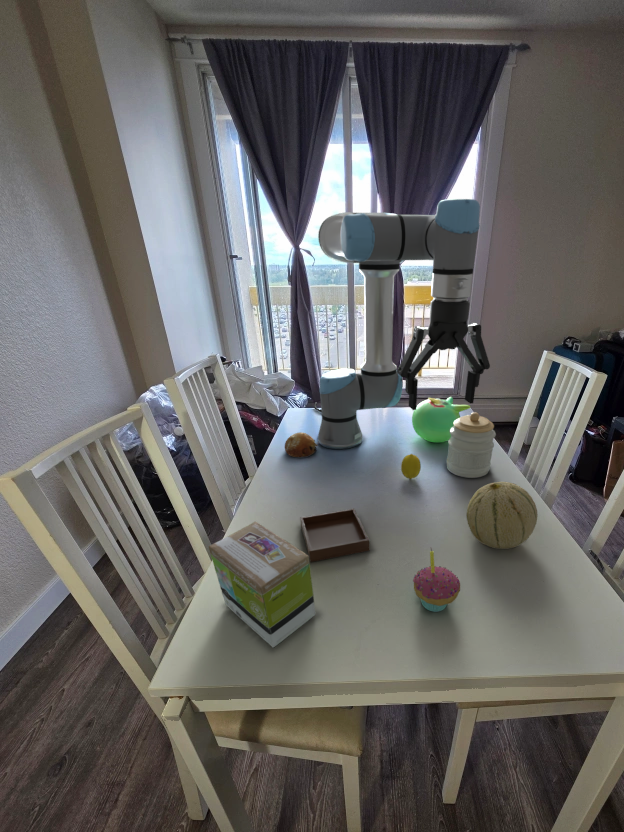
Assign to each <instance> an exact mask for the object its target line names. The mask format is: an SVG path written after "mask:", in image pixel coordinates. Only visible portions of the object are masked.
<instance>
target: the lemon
mask: <svg viewBox="0 0 624 832" xmlns="http://www.w3.org/2000/svg"><path fill="white" fill-rule="evenodd" d="M421 468H422V465H421V460H420V458H419V457H418V456H417V455H415V454H413V453H410V454H407V455H405V456H404V457H403V459H402V461H401V464H400V470H401V474H402V476H404V477H405V478H407V479H409V480H412V479H415V478H417V477H418V476H419V475H420V472H421Z"/></svg>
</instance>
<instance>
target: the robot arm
mask: <svg viewBox="0 0 624 832" xmlns="http://www.w3.org/2000/svg"><path fill="white" fill-rule="evenodd" d="M480 205H481V204H480V203H479V201H478V200H476V199H473V198H447V199H442V200H440V201H439V202H438V203H437V206H436V213H435V214H396V213H390V212H385V211H383V212H352V211H351V212H349V211H348V212H339V213H336V214H332V215H330V216H329V217H327V218H325V219H324V220H323V221H322V223H321V225H320V226H319V229H318V236H317V240H318V244H319V248H320V250H321V251H322V253H323V254H324V255H325V256H326V257H328V258H329V259H331V260H333V261H337V262H340V263H347V264H358V271H359V273H361V275H362V276H363V279H364V281H363V282H364V283H363V284H364V346H365V347H364V350H365V351H364V355H365V357H364V359H365V360H364V362H363V363H362V364H361V365H360V372H359V373H356V370H355V369H353V368H337V369H332V370H328V371H327V372H325V373H323V374H322V375H321V376H320V378H319V389H318V391H319V397H320V408H318V407H317V405H318V403H317V401H315V402H313V403H314V404H313V409H314V410H315V411H317V412H320V413H321V423H320V426H319V430H318V434H317V440H318V444H319V445H320V446H322V447H323V448H326V449H331V450H346V449H352V448H354V447H355V448H356V447H358V446H359V445H360V444H361V443H362V442H363V432H362V429H361V426H360V424H359V421H358V418H357V411H365V410H372V409H386V408H390V407H394V406H396V405H398V403H399V402H400V400H401V397H402V394H403V388H404V387H405V389H404V390H405V393H406V394H407V395H408V407H409V408H410V409H411V410H412V411H414V410H416V407H417V405H418V404H417V402H418V384H419V379H417V378H416V377H417V375H418V374H419V373H420V371H421V370H422V369H423V367H424V366H425V365H426V364H427V363H428V362H429V360H430V359H431V358H432V356H433V355H434V354H435V353H437V351H438V350H440V351H446V350H456V348H457V349H458V351H459V352H460V354H461V355H462V357H463V359H464V360H465V361H466V363H467V364H468V366H469V367H470V369H471V370H468V371H467V376H466V385H465V393H464V394H465V395H464V401H466V402H467V403H468V404H474V402H475V401H474V400H475V393H476V388H478V387H479V386H480V378H481V375H482V374H484V372H485V370H489V369H490V368H491V364H490V361H489V357H488V354H487V351H486V348H485V344H484V340H483V338H482V325H481V324H479V323H476V322H474V321H473V322H471V323H470V324H468V320H469V313H470V306H471V302H470V300H469V299H468V298H470V297H471V295H472V286H473V277H474V269H475V262H476V261H475V260H476V254H477V253H476V251H477V245H478V237H479V231H480V230H479V229H480V213H481V212H480V211H481V206H480ZM405 261H432V264H433V266H432V278H431V290H430V291H431V292H430V296H431V297H432V298H433V299H431V301H430V305H429V306H430V308H429V324H428V327H420V326H418V325H415V326H414V328H413V331H412V338H411V341H410V343H409V345H408V347H407V349H406V351H405V353H404V355H403V357H402V359H401V362H400V364H399V366H398V367H397V365H396V364H395V363H394V362H393V335H394V334H393V333H394V291H395V289H394V285H395V283H394V282H395V276H396V275H397V273H398V272H399V271H400V264H402V263H404V262H405ZM467 334H468V335H469V336H470V340H471V342H472V346H473V349H474V352H475V355H476V357H475V356H474V355H473V353H472V351H471V350H470V348H469V346H468V344H467V342H466V341H465V340H464V339H465V337H466V336H467ZM427 336H428V338H429V339H428V341H427V342H426V343H425V345H424V347H423V349H422V350H421V352H419V350H420V348H421V346H422V343H423V340H425V339H426V337H427ZM418 352H419V354H418ZM417 354H418V355H417ZM416 356H417V357H416ZM476 358H477V359H476ZM403 378H405V386H404V387H403V385H404V383H403ZM319 409H320V410H319Z"/></svg>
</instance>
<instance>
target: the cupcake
mask: <svg viewBox="0 0 624 832" xmlns="http://www.w3.org/2000/svg"><path fill="white" fill-rule="evenodd" d="M429 558H430V561H429V562H430V566H428V567H427V566H426V567H423V568H421V569H420V570H418V571H417V572H416V574H414V575H413V579H412V582H413V590H414V593H415V595H416V596H417V597H418V598H419V599H420V603H421V605H422V606H423V607H424V608H425V610H428V611H430V612H433V613H434V612H437V613H438V612H441V611H444V610H445V609H446V607H447V606H448V605H450V604H452V603H453V602H455V601H456V599H457V598H458V597H459V593H460V592H461V581H460V579H459V578H458V577H459V576H457V575H456V574H455V573H454V572H452V570H450V569H448V568H447V567H445V566H444V567H443V566H436V565H435V551H433V547H430V551H429Z"/></svg>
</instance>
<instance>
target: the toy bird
mask: <svg viewBox="0 0 624 832" xmlns="http://www.w3.org/2000/svg"><path fill="white" fill-rule="evenodd" d="M469 409H471V405H469V404H454V398H453V397H452V396H449V397H448V398H446V399H442V398H433V397H427V399H425V400H422V401H421V402H420V403H418V404H417V405H416V410H413V412H412V416H411V424H412V428H413V430H414V432H415V433H416V434H417V436H419V437H420V438H421V439H422V440H425V441H427V442H429V443H437V444H438V443H439V444H440V443H445V442H449V439H450V438H451V434H450V429H451V428H452V427H453V426H454V424H453V423H454V421H455V420H457V419H459V418H460V417H461V414H460V413H461V412H464V411H467V410H469Z"/></svg>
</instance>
